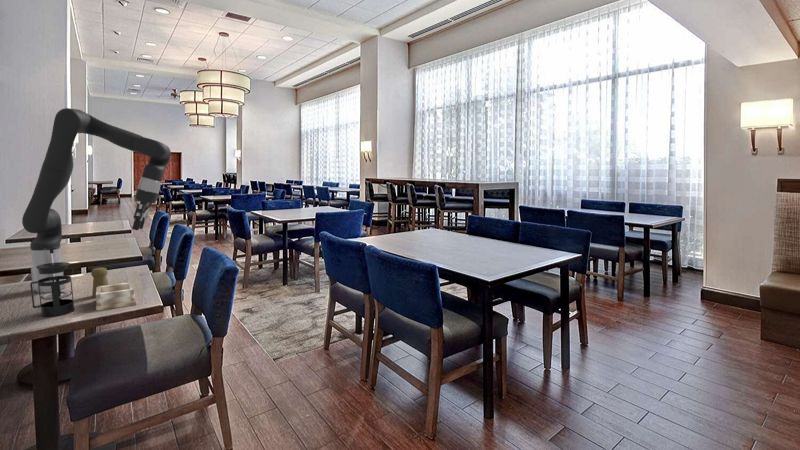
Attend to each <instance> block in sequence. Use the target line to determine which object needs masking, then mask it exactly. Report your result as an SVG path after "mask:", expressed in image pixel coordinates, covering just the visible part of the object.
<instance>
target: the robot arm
mask: <svg viewBox="0 0 800 450" xmlns="http://www.w3.org/2000/svg"><path fill="white" fill-rule="evenodd" d="M78 134H85V135H91V136H95V137H99V138H101V139H103V140H106V141H108V142H110V143H111V144H113V145H116V146H118V147H120V148H123V149H125V150H129V151H131V152H135V153H139V154H142V155H144V156H146V157H147V156H148V157H149V161H148V163H147V164H145V166H144V167H143V171H142V174H141V178H140V180H139V183H138V185H137V189H136V192H135V196H134V200H136V201H138V202H139V201H140V202H139V203H137V204H136V207H135V211H134V215H133V224H132V230H134V231H139V230H142V229H144V225H145V221H146V220H147V219H148V216H149V212H150V209H151V204H152V205H153V204H154V205H155V204H156V203H157V199H158V197H159V193H160V190H161V185H162V181H163V180H162V179H163V176H164V172H165V170H166V168H167V166H168V164H169V162H170V159H171V154H172V153H171V148H170V147H169V146H168V145H167V144H165V143H163V142H161V141H159V140H156V139H155V140H154V139H152V138H148V137H144V136H143V135H141V134H137V133H134V132H133V131H129V130H126V129H123V128H120V127H118V126H115V125H113V124H109V123H107V122H105V121H102V120H100V119H98V118H96V117H95V116H92V115H90V114H88V113H87V112H85V111H83V110H81V109H78V108H70V107H68V108H67V107H65V108H62V109H60V110H58V112H56V114H55V117H54V121H53V126H52V131H51V138H50V141H49V144H48V147H47V151H46V153H45V157H44V160H43V162H42V165H41V168H40V171H39V176H38V178H37V181H36V184H35V187H34V191H33V193H32V195H31V198H30V200H29V202H28V204H27V207H26V209H25V211H24V213H23V215H22V220H21V221H22V222H21V223H22V227H23V228H24V229H25V231H26V232H28V233H31V234H37V235H36V237H35V238H34V239H33V240H32V241H31V242H30V245H29V246H30V253H31V254H30V255H31V262H32V263H31V264H32V267H31V268H30V273H31V274H30V275H31V282H35V281H38V280H40V279H43V278H47V277H53V276H54V274H39V272H38V269H37V268H36V267H37V266H39V265H43V264H48V263H52V256H51V254H50V250H43V249H45V248H49V247H58V248H59V249H55V250H53V251H54V253H53V262H54V263H57V262H63V259H62V249H61V243H62V240H63V234H62V233H63V231H62V229H63V228H62V219H61V216H60V213H59V212H57V210H55V209H53V208H51V207H52V205H53V203H54V202H55V200H56V199H57V197H59V195H60V194H61V193H62V192H63V191H64V189H65V188H66V187H67V185H68V183H69V182H70V178H71V176H72V172H73V170H74V157H73V146H74V142H75V140H76V137H77V135H78ZM55 276H65V275H64V272H61V273H55ZM62 280H65V279H59V281H62ZM46 282H53V280H51V281H46ZM32 286H33V292H36V293H39V288H38V283H34V284H32ZM65 287H66V286H65V284H62V285H60V291H62V290H64V289H65ZM41 293H43V294H45V293H52V290H51V286H40V294H41Z"/></svg>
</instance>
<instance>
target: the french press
mask: <svg viewBox="0 0 800 450" xmlns="http://www.w3.org/2000/svg"><path fill="white" fill-rule="evenodd" d="M55 249H59V248H58V247H49V248H45V249H43V250H50V254H51V256H52V263H48V264H43V265H39V266H37V267H36V268H37V269H38V272H39V274H54V276H53V277H47V278H43V279H40V280H38V281H35V282H32V281H31V282H30V284H29V285H30V286H29V287H30V291H31V292H30V293H31V301H32V303H31V304H32V308H33V309H37V308H40V316H41V317H43V318H54V317H60V316H64V315H69V314H71V313H73V312H75V311H76V307H75V303H74V302H75V301H74V294H73V293H74V292H73V284H72V283H73V282H72V276H71V275H64V276H55V273H61V272H63V273H64V272H65V271H66V270H67V269H68V267H69V266H70V265H71V264H70V262H68V261H67V262H65V261H64V262H63V261H62V262H57V263H54V262H53V253H54V251H53V250H55ZM59 279H64V280H62V281H59ZM51 280H53V282H46V281H51ZM34 283H38V288H39V292H38V293H39V294H38V295H39V302H40V303H39V305H35V297H34V291H33V284H34ZM68 283H70V289H71V290H60V285H62V284H64V285H65V284H68ZM40 286H51V290H52V292H46V293H43V294H42V295H41V293H40ZM70 296H71V298H68V297H70ZM63 298H64V299H63ZM42 300H44V301H45V300H46V301H47V302H44V303H43V302H42Z"/></svg>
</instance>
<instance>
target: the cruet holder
mask: <svg viewBox="0 0 800 450" xmlns="http://www.w3.org/2000/svg"><path fill="white" fill-rule="evenodd" d="M135 295H136V294H135V288H134V284H133V281H132V282H124V283H115V284H108V285H107V286H99V287H97V289H96V299H95V300H96V304H95V311H103V310H109V309H116V308H124V307H131V306H135V305H137V301H136V296H135Z"/></svg>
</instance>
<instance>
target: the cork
mask: <svg viewBox="0 0 800 450" xmlns="http://www.w3.org/2000/svg"><path fill="white" fill-rule="evenodd" d="M90 273H91V276H92V277H93V278H92V279H93V280H92V294H91V297H92V298H94V299H95V298H96V289H97V287H99V286H107V285H109V282H108V279H107V275H108V270H107V268H106V267H96V268H92V270H91V272H90Z"/></svg>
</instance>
